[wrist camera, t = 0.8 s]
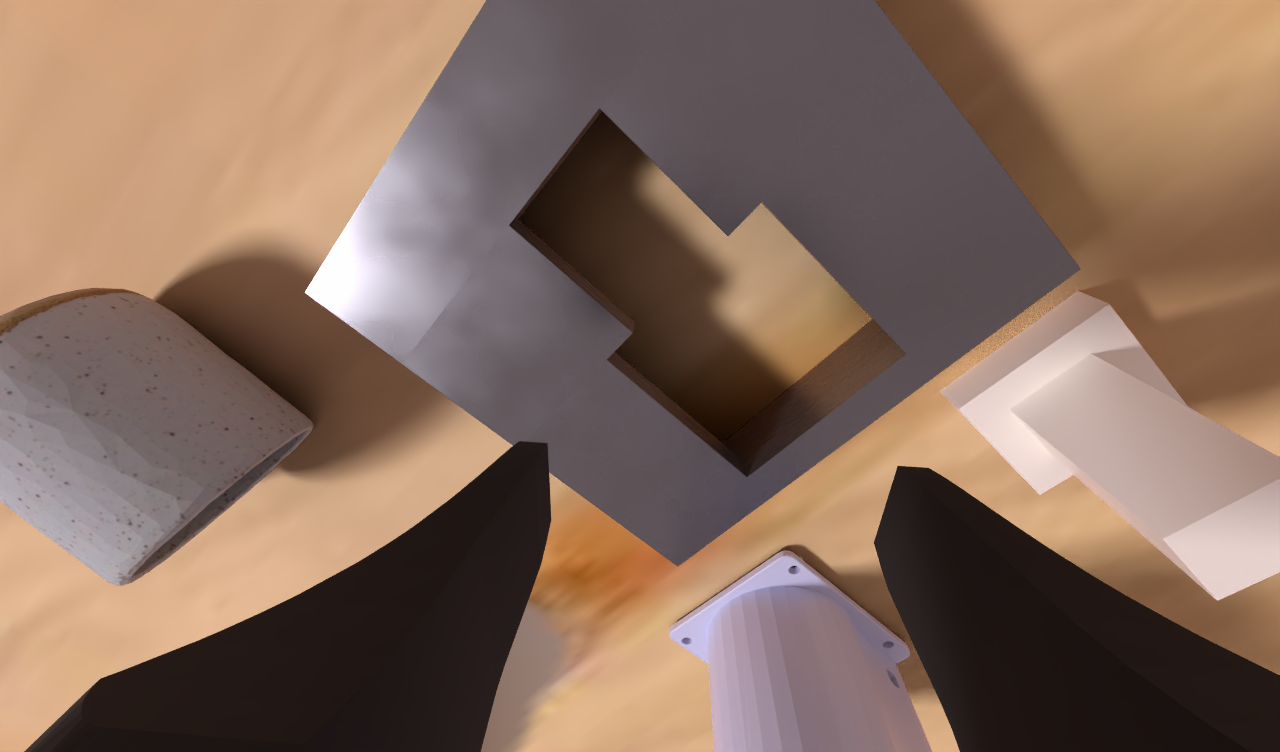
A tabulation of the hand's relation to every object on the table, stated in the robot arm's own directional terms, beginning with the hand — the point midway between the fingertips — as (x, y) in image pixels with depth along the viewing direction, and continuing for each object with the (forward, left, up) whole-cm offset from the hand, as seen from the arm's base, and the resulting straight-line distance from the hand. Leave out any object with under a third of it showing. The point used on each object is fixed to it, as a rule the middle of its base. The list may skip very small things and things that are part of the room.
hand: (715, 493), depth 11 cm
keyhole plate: (+3, -1, -10) cm, 10 cm away
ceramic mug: (+13, +17, -10) cm, 23 cm away
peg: (-11, -7, -10) cm, 17 cm away
